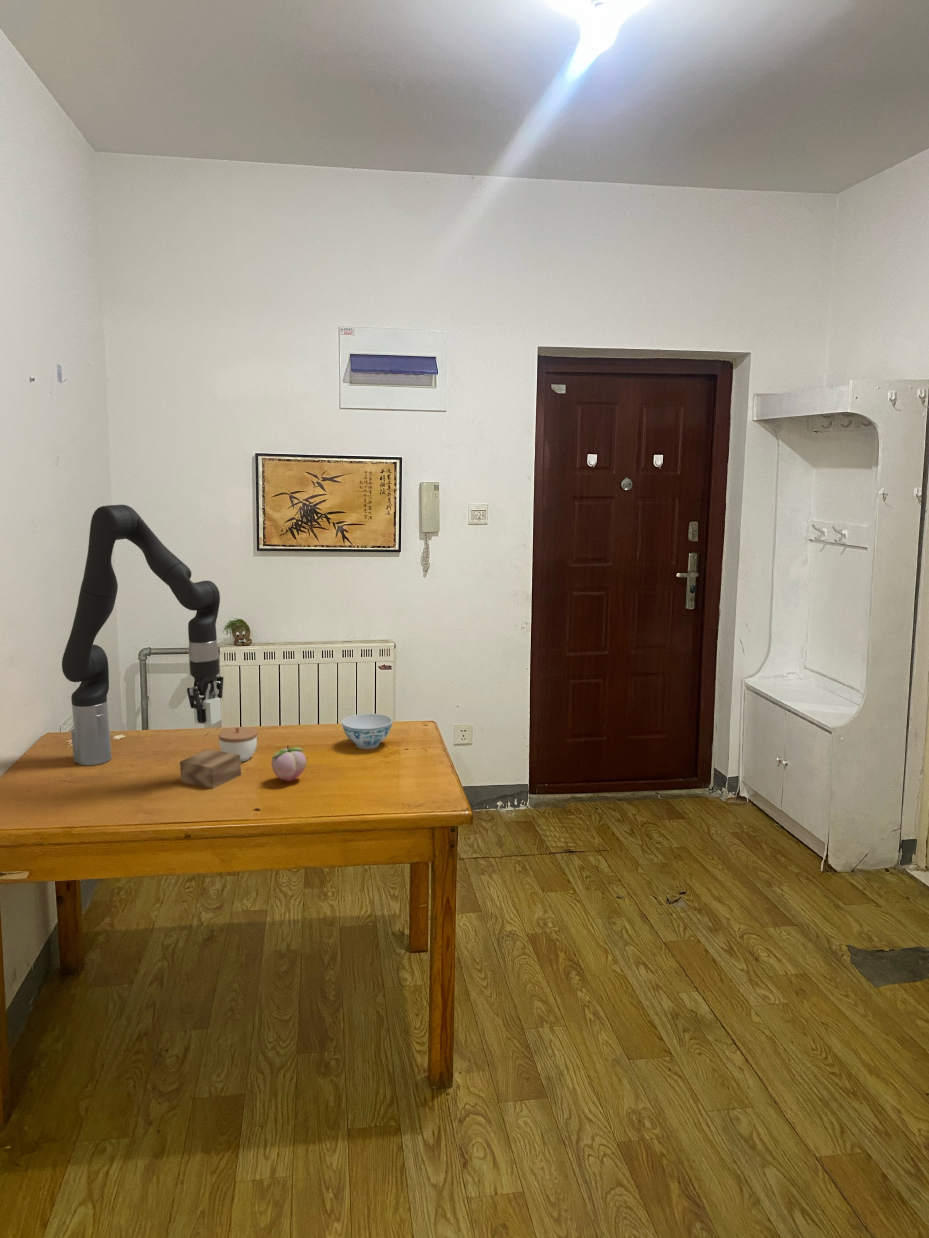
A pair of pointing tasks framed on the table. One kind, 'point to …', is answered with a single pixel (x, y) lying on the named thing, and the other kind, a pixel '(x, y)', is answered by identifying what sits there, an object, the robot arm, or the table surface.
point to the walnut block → (210, 768)
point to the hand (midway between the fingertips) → (207, 719)
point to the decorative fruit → (288, 763)
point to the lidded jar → (239, 742)
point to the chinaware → (367, 729)
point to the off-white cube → (210, 711)
